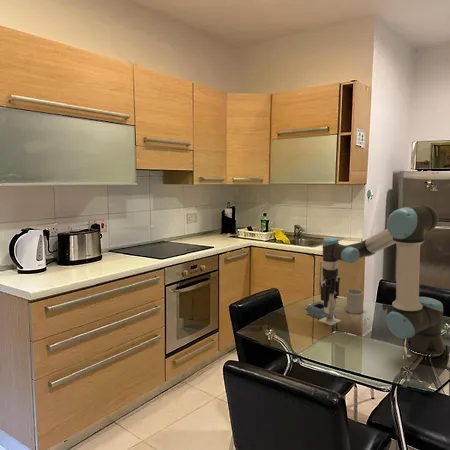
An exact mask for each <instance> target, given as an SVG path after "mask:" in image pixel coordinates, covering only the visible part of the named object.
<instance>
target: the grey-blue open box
mask: <svg viewBox="0 0 450 450" xmlns="http://www.w3.org/2000/svg"><path fill="white" fill-rule="evenodd" d="M304 306H306V307H307V308H306V311H307V312H306V313H309V314H311V315H310V316H312V315H313V316H312V317H314V318H317V319H319V320H320V319H322V318H324V317H326V313H325V312H324V302H322V301H317V302H313V303H312V304H311V303H308V302H306V303H305V304H304ZM309 314H308V315H309Z"/></svg>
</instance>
